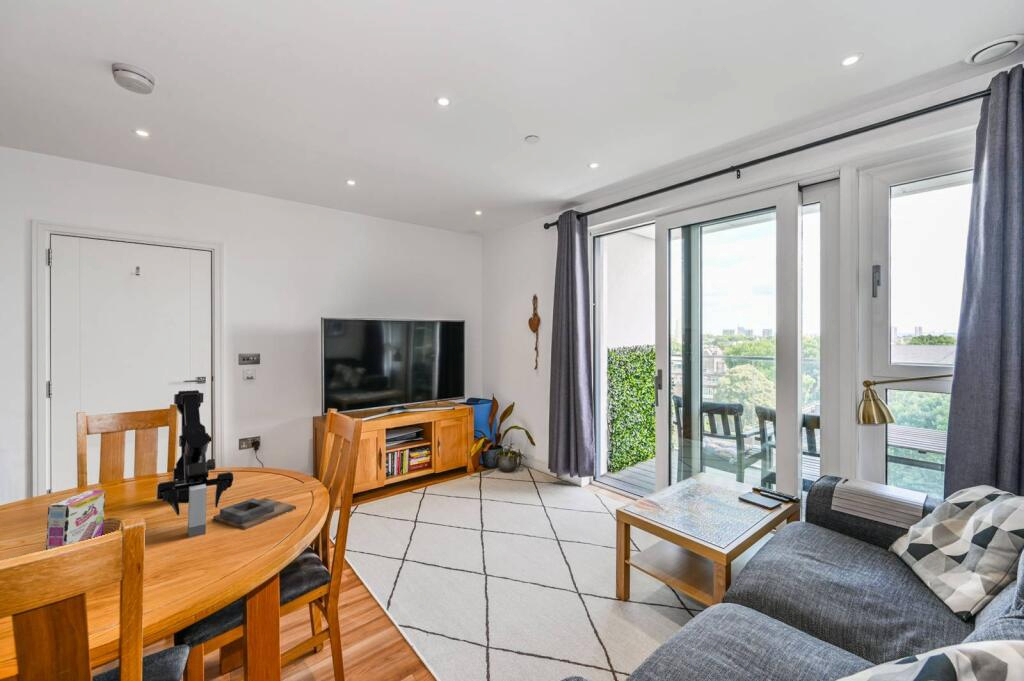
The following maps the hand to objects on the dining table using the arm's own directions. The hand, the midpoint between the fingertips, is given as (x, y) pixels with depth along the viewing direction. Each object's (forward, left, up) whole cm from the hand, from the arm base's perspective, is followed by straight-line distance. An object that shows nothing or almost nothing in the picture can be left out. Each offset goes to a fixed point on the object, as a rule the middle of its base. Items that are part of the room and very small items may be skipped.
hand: (197, 510), depth 127 cm
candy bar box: (-21, -15, -7) cm, 27 cm away
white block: (-1, +1, -7) cm, 7 cm away
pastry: (-26, 0, -8) cm, 27 cm away
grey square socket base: (+8, +16, -7) cm, 19 cm away
